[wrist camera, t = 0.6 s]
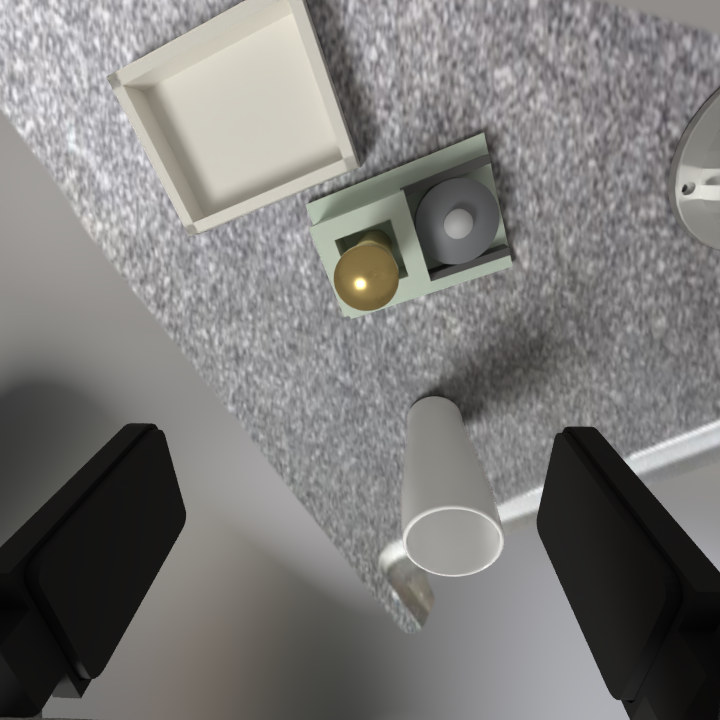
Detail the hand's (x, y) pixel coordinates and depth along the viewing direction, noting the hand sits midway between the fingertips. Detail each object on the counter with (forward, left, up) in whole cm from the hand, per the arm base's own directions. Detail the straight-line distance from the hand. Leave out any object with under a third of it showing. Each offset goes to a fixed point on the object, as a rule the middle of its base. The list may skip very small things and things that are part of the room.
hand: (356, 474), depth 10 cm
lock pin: (0, -1, -26) cm, 26 cm away
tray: (+6, -13, -26) cm, 30 cm away
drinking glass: (0, +16, -27) cm, 31 cm away
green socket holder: (-3, -1, -26) cm, 26 cm away
